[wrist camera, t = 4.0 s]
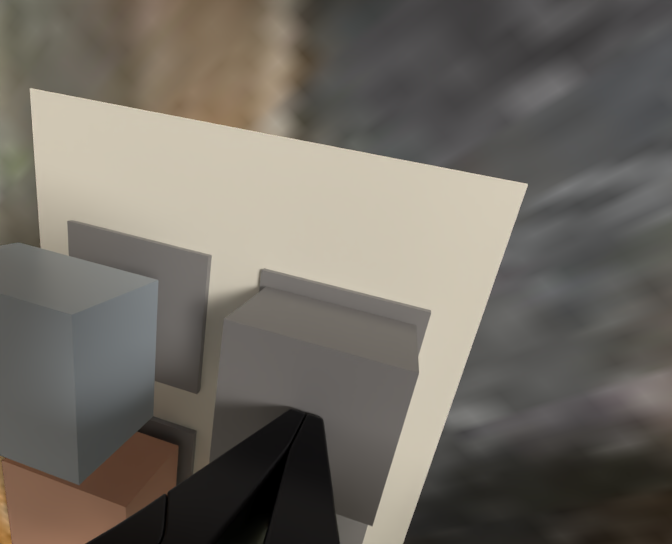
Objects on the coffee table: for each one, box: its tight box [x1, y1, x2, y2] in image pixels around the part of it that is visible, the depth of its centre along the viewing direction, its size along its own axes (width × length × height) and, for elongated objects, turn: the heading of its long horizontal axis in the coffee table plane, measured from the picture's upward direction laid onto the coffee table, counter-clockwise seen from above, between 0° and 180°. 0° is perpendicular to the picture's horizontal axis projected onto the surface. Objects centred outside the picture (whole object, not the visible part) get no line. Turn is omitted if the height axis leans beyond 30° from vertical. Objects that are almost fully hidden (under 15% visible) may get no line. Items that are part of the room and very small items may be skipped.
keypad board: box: [30, 88, 528, 544], centre depth 13 cm, size 15×20×2 cm
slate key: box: [0, 243, 158, 485], centre depth 9 cm, size 4×4×2 cm
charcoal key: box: [209, 287, 419, 526], centre depth 9 cm, size 4×4×2 cm
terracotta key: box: [2, 432, 179, 544], centre depth 12 cm, size 4×4×2 cm
